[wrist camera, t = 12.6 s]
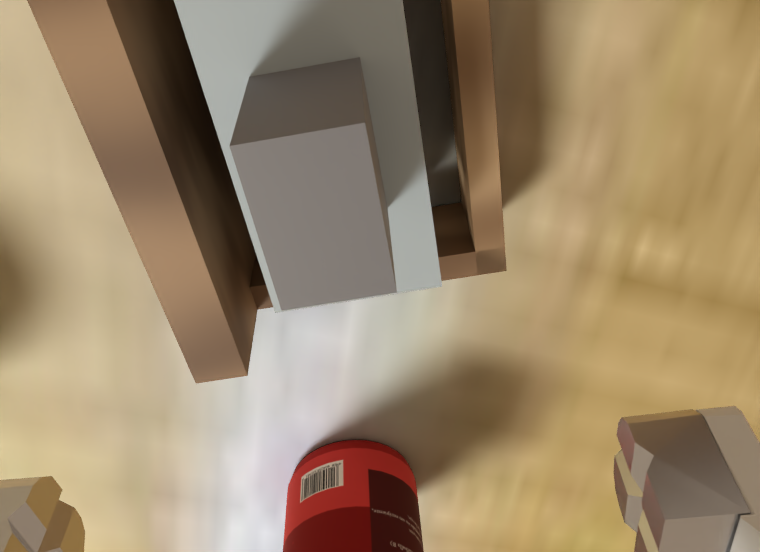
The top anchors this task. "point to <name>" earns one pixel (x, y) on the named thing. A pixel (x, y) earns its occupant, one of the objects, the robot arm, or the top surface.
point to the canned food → (353, 501)
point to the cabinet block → (320, 143)
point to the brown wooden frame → (210, 171)
